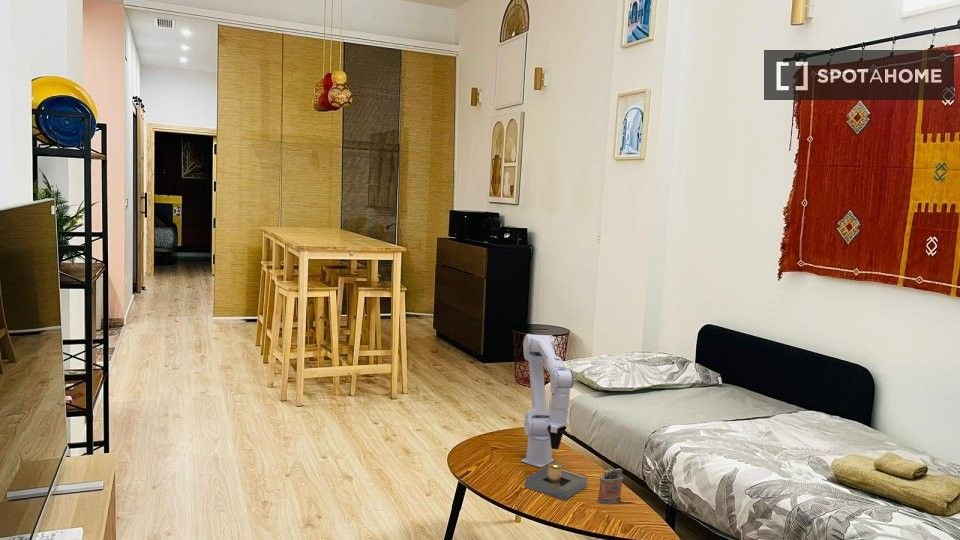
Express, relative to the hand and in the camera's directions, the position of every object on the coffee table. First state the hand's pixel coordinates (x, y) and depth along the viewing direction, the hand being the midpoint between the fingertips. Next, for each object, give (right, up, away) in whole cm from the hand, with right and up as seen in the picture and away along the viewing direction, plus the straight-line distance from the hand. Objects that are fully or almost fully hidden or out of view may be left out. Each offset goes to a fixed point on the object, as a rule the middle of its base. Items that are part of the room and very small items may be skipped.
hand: (554, 448), depth 235 cm
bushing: (-1, -11, -7) cm, 13 cm away
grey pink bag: (+15, -13, -12) cm, 23 cm away
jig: (0, -11, -5) cm, 12 cm away
